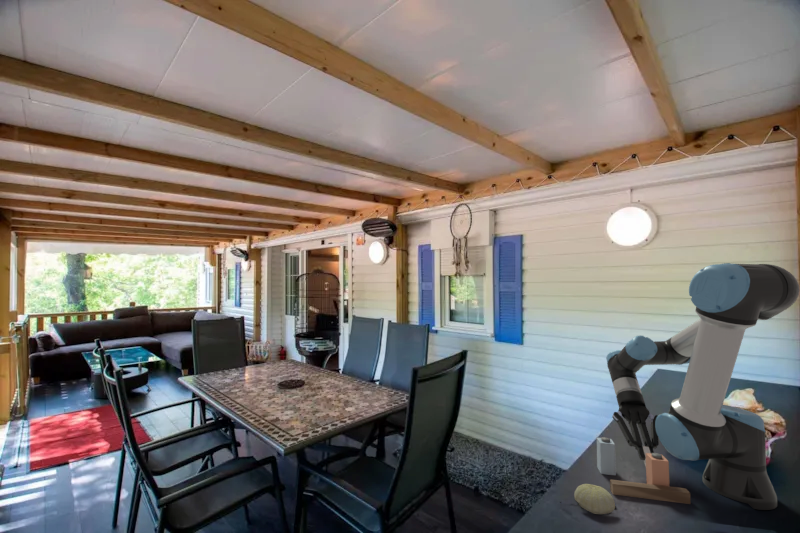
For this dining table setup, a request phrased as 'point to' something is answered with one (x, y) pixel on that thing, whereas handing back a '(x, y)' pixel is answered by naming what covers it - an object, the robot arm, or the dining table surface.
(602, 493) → the sea urchin shell
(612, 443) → the grey socket block
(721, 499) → the dining table surface
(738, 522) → the dining table surface
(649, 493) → the maple board
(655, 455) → the terracotta plug
